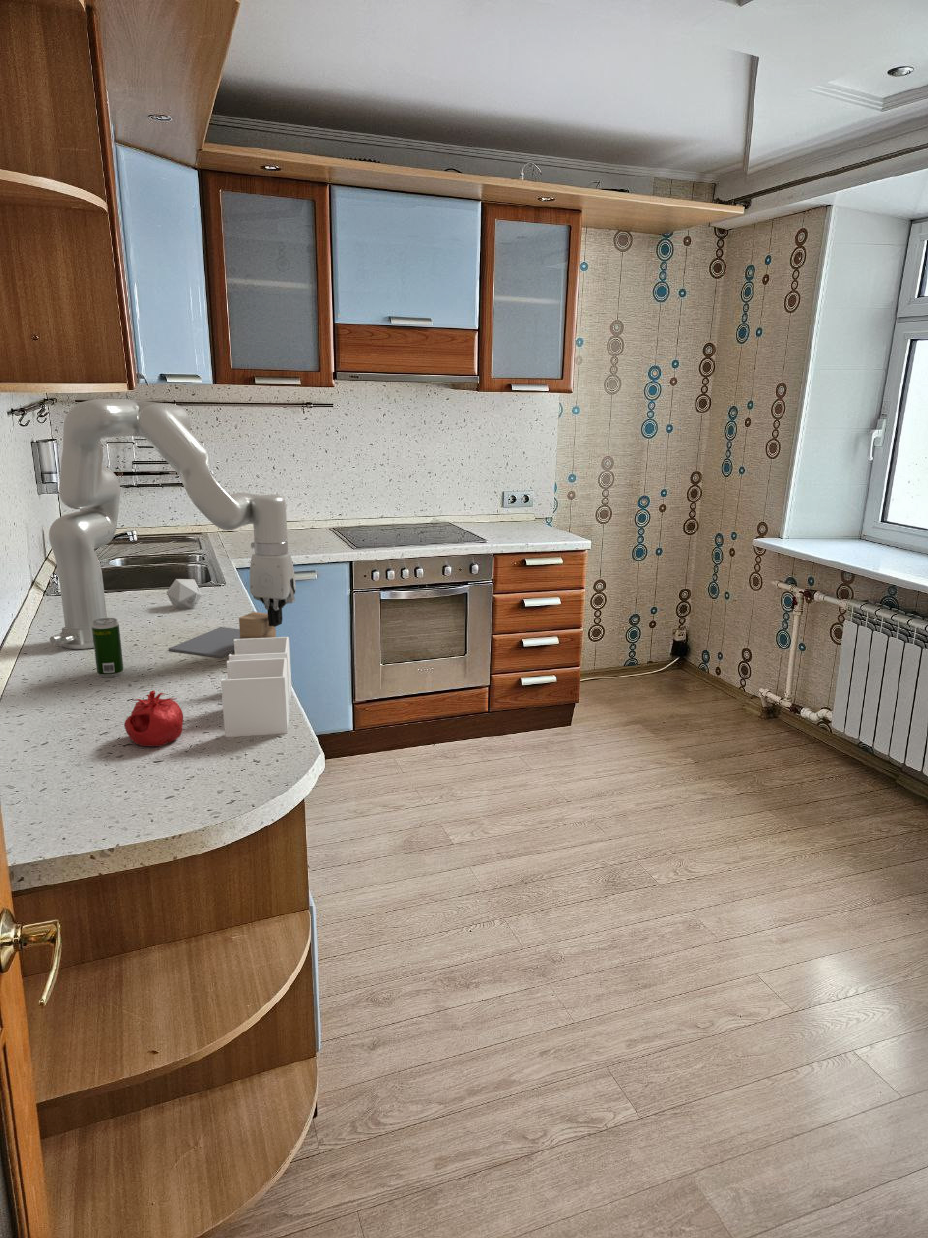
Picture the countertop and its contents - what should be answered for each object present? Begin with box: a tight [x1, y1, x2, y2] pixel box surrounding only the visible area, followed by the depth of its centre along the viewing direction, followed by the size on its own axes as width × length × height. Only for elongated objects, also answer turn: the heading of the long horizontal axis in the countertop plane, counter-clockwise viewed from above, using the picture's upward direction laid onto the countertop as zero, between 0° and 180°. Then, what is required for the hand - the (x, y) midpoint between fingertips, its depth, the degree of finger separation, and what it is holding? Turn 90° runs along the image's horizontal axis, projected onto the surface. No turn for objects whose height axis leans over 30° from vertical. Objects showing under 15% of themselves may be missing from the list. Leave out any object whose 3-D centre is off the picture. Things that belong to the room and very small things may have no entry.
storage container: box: [220, 636, 292, 738], centre depth 156 cm, size 25×11×11 cm, turn 10°
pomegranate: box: [123, 690, 184, 747], centre depth 142 cm, size 10×10×9 cm
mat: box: [168, 626, 240, 659], centre depth 198 cm, size 20×15×1 cm
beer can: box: [92, 617, 124, 678], centre depth 174 cm, size 5×5×12 cm
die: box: [165, 578, 203, 610], centre depth 229 cm, size 8×9×10 cm
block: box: [238, 611, 277, 639], centre depth 194 cm, size 6×6×8 cm
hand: (275, 624), depth 191 cm, fingers closed
